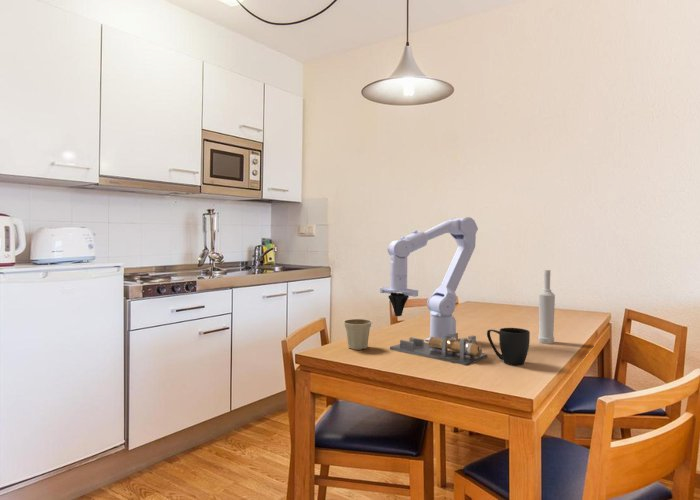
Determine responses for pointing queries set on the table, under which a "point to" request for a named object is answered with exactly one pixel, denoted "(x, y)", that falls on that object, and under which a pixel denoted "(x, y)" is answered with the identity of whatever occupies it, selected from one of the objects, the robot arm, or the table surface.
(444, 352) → the collar
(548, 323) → the bottle
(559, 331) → the table surface
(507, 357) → the mug
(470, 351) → the copper tube
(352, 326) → the flower pot
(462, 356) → the collar
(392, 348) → the firebox plate
